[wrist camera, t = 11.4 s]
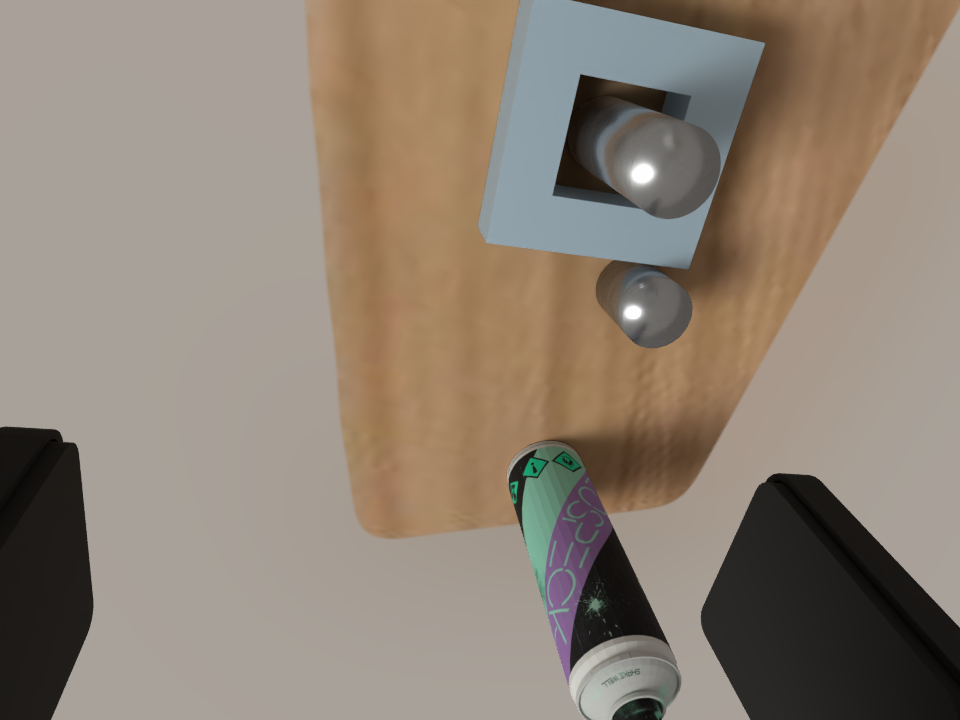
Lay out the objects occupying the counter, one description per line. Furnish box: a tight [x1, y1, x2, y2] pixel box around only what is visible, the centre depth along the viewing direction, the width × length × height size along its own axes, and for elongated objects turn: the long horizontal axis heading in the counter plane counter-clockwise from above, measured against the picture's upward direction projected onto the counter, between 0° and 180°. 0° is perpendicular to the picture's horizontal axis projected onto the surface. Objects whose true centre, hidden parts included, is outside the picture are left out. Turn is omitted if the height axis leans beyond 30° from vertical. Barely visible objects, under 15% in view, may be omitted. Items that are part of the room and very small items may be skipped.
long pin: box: [567, 96, 721, 219], centre depth 33 cm, size 4×4×10 cm
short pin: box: [596, 260, 692, 348], centre depth 40 cm, size 4×4×5 cm
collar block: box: [478, 0, 765, 270], centre depth 36 cm, size 12×12×3 cm
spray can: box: [507, 441, 681, 720], centre depth 39 cm, size 6×6×20 cm
